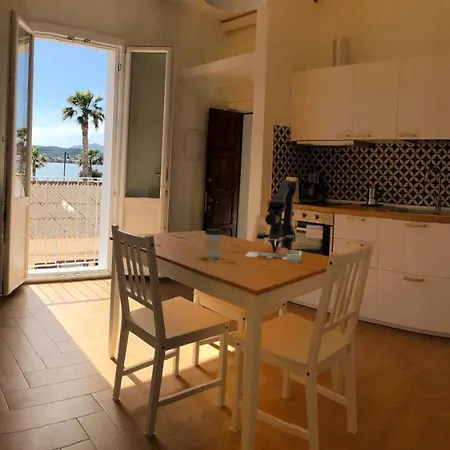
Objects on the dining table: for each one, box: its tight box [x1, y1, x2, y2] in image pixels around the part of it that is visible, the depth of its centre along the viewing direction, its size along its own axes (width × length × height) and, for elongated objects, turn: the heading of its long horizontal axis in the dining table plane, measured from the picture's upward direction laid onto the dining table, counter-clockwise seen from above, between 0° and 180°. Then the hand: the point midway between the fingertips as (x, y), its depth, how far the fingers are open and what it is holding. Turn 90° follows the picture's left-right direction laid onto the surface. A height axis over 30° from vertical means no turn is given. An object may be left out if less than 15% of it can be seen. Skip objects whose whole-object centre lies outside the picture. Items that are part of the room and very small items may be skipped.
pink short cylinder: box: [277, 246, 288, 258], centre depth 241 cm, size 5×5×4 cm
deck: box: [245, 249, 303, 264], centre depth 240 cm, size 13×28×4 cm, turn 79°
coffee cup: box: [204, 228, 225, 261], centre depth 232 cm, size 9×9×15 cm
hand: (274, 253), depth 242 cm, fingers closed
